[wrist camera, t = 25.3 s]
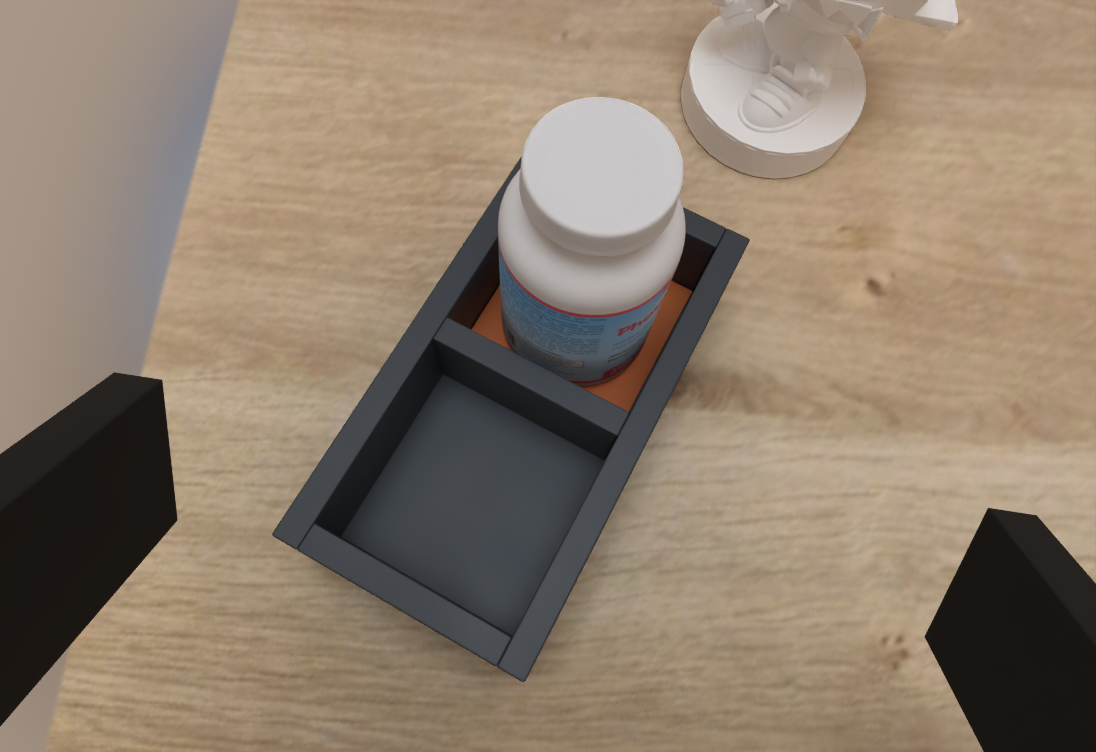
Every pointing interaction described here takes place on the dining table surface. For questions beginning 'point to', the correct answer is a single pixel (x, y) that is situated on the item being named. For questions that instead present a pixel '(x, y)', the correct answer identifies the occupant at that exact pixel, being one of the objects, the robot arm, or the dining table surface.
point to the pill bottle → (590, 237)
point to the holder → (493, 455)
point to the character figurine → (785, 78)
